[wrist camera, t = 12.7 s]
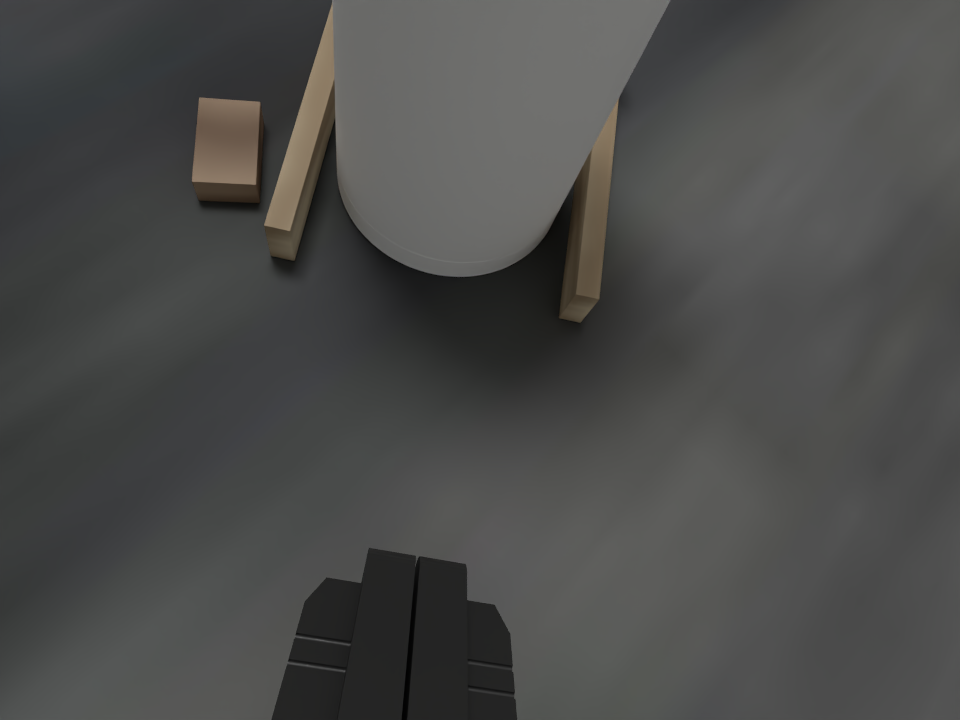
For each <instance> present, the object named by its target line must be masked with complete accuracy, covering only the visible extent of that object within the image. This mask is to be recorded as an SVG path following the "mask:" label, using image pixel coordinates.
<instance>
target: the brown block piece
mask: <svg viewBox="0 0 960 720" xmlns="http://www.w3.org/2000/svg"><path fill="white" fill-rule="evenodd" d="M263 131H264V121H263V115H262V110H261V104H260V102H253V101H238V100H224V99H210V98H199V107H198V118H197V129H196V141H195V152H194V164H193V175H192V183H193V186H194V189H195V191H196V194H197V197H198V200H199V201H222V202H246V203H260V190H261V170H262V151H263Z"/></svg>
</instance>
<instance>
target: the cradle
mask: <svg viewBox="0 0 960 720" xmlns="http://www.w3.org/2000/svg"><path fill="white" fill-rule="evenodd" d="M618 100H619V98H618ZM618 100H617V102H616V104H615V106H614V108H613V110H612V112H611V113H610V115H609V117H608V119H607V121H606V123H605V125H604V127H603V129H602V130H601V132H600V134H599V136H598V138H597V140H596V142H595V144H594V146H593V148H592V149H591V151H590V153H589V155H588V157H587V159H586V161H585V163H584V165H583V166H582V168H581V170H580V172H579V174H578V176H577V178H576V180H575V186H574V194H573V203H572V211H571V219H570V228H569V236H568V245H567V253H566V262H565V270H564V278H563V287H562V295H561V304H560V312H559V318H561V319H565V320H570V321H574V322H579V323H581V321H582V320H583V319H584V318H585V316H586V315H587V314H588V313H589V311H590V310H591V309H592V308H593V307H594V305H595V304H596V303H597V302H598V300H599V297H600V286H601V276H602V266H603V255H604V245H605V235H606V224H607V214H608V203H609V193H610V183H611V172H612V162H613V152H614V141H615V131H616V120H617V110H618ZM334 120H335V81H334V42H333V3H332V6H331V9H330V13H329V16H328V19H327V22H326V26H325V29H324V32H323V36H322V39H321V42H320V45H319V49H318V52H317V55H316V58H315V62H314V65H313V68H312V71H311V75H310V78H309V81H308V84H307V88H306V91H305V94H304V97H303V101H302V104H301V107H300V110H299V114H298V117H297V120H296V123H295V127H294V130H293V133H292V136H291V140H290V143H289V146H288V149H287V153H286V156H285V159H284V162H283V166H282V169H281V172H280V175H279V179H278V182H277V185H276V188H275V192H274V195H273V198H272V201H271V205H270V208H269V211H268V214H267V218H266V221H265V224H264V227H265V232H266V236H267V241H268V245H269V250H270V254H271V256H274V257H278V258H283V259H288V260H292V261H295V258H296V254H297V251H298V247H299V244H300V240H301V237H302V233H303V230H304V226H305V222H306V219H307V215H308V212H309V208H310V205H311V201H312V198H313V194H314V191H315V187H316V184H317V180H318V176H319V173H320V169H321V166H322V162H323V159H324V155H325V152H326V148H327V145H328V141H329V137H330V134H331V130H332V127H333V123H334Z"/></svg>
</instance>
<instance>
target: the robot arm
mask: <svg viewBox="0 0 960 720" xmlns="http://www.w3.org/2000/svg"><path fill="white" fill-rule="evenodd" d="M415 564H416V567H415ZM512 666H513V664H512V651H511V639H510V633H509V631H508V629H507V627H506V625H505V624H504V622H503V620H502V618H501V616H500V614H499V612H498V610H497V609H496V607H495V605H492V604H486V603H480V602H474V601H468V600H467V568H466V565H465V564H462V563H456V562H450V561H444V560H438V559H433V558H427V557H421V556H419V558H418V560H417V563H416V556H414V555H408V554H402V553H396V552H390V551H384V550H378V549H372V548H369V550H368V554H367V559H366V564H365V568H364V573H363V578H362V582H361V583H356V582H350V581H344V580H338V579H332V578H326V579H325V580H324V581H323V582H322V583H321V584H320V585H319V587H318V588H317V589H316V590H315V591H314V592H313V593H312V594H311V595H310V597H309V598H308V599H307V600H306V601H305V603H304V607H303V610H302V614H301V617H300V621H299V624H298V628H297V631H296V636H295V639H294V642H293V645H292V649H291V653H290V656H289V660H288V664H287V667H286V670H285V674H284V677H283V681H282V684H281V688H280V691H279V695H278V699H277V702H276V706H275V709H274V713H273V716H272V720H517V714H516V701H515V699H514V693H515V689H514V676H513V672H512Z"/></svg>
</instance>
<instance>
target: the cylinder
mask: <svg viewBox="0 0 960 720" xmlns="http://www.w3.org/2000/svg"><path fill="white" fill-rule="evenodd" d="M669 2H670V0H332V3H333V42H334V81H335V120H336V159H337V180H338V187H339V191H340V195H341V198H342V201H343V204H344V206H345V208H346V210H347V212H348V214H349V216H350V218H351V219H352V221H353V222H354V224H355V225H356V226H357V228H358V229H359V230H360V232H361V233H362V234H363V235H364V236H365V237H366V238H367V239H368V240H369V241H370V242H371V243H372V244H373V245H374V246H376V247H377V248H378V249H379V250H381V251H382V252H383V253H385V254H386V255H388V256H389V257H391V258H393V259H394V260H396V261H398V262H400V263H402V264H404V265H406V266H409V267H411V268H414V269H417V270H419V271H423V272H426V273H430V274H435V275H441V276H451V277H469V276H478V275H484V274H488V273H492V272H495V271H498V270H501V269H504V268H506V267H508V266H510V265H512V264H514V263H516V262H518V261H519V260H521V259H522V258H524V257H525V256H526V255H528V254H529V253H530V252H531V251H532V250H533V249H535V248H536V246H537V245H538V244H539V243H540V242H541V241H542V239H543V238H544V237H545V235H546V234H547V232H548V231H549V229H550V227H551V225H552V223H553V221H554V219H555V217H556V216H557V214H558V212H559V210H560V208H561V206H562V204H563V202H564V200H565V199H566V197H567V195H568V193H569V191H570V189H571V187H572V185H573V183H574V182H575V180H576V178H577V176H578V174H579V172H580V170H581V168H582V166H583V165H584V163H585V161H586V159H587V157H588V155H589V153H590V151H591V149H592V148H593V146H594V144H595V142H596V140H597V138H598V136H599V134H600V132H601V130H602V129H603V127H604V125H605V123H606V121H607V119H608V117H609V115H610V113H611V112H612V110H613V108H614V106H615V104H616V102H617V100H618V98H619V96H620V95H621V93H622V91H623V89H624V87H625V85H626V83H627V81H628V79H629V78H630V76H631V74H632V72H633V70H634V68H635V66H636V64H637V62H638V61H639V59H640V57H641V55H642V53H643V51H644V49H645V47H646V45H647V43H648V42H649V40H650V38H651V36H652V34H653V32H654V30H655V28H656V26H657V25H658V23H659V21H660V19H661V17H662V15H663V13H664V11H665V9H666V8H667V6H668V4H669Z"/></svg>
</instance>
